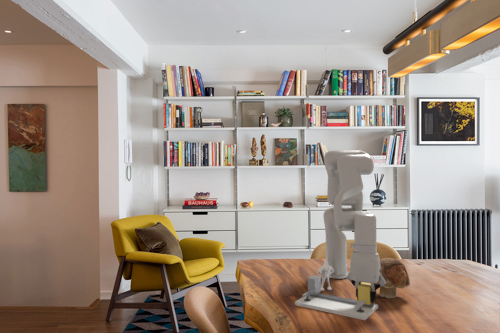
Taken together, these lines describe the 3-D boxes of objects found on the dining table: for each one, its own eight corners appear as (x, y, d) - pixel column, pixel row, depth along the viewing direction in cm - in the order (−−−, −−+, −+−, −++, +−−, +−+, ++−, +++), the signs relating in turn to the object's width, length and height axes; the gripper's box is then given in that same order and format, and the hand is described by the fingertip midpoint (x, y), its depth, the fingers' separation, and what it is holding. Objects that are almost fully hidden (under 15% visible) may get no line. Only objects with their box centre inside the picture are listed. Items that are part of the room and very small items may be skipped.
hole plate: (311, 294, 153) (311, 291, 153) (378, 307, 138) (378, 304, 138) (295, 305, 142) (294, 301, 142) (365, 320, 127) (365, 316, 127)
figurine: (331, 287, 163) (330, 258, 163) (336, 290, 159) (336, 261, 159) (315, 289, 160) (315, 260, 160) (320, 292, 156) (320, 262, 156)
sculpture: (391, 306, 139) (390, 264, 139) (359, 294, 153) (359, 256, 153) (419, 299, 146) (419, 260, 146) (387, 288, 160) (387, 252, 160)
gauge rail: (311, 293, 152) (311, 274, 152) (375, 305, 137) (375, 284, 137) (297, 301, 142) (297, 281, 142) (364, 315, 128) (364, 293, 128)
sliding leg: (362, 302, 140) (362, 282, 140) (373, 304, 138) (373, 283, 138) (351, 311, 131) (351, 290, 131) (363, 314, 128) (362, 292, 128)
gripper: (338, 247, 139) (339, 299, 139) (386, 253, 129) (387, 308, 129) (346, 244, 145) (347, 293, 145) (392, 249, 135) (393, 302, 135)
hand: (366, 300), depth 137 cm, fingers closed on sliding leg, 4 cm apart
